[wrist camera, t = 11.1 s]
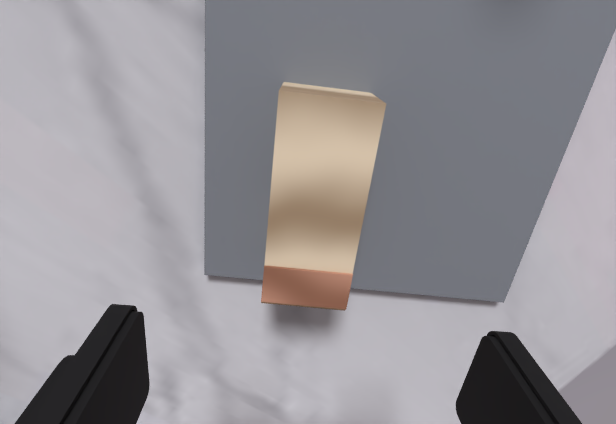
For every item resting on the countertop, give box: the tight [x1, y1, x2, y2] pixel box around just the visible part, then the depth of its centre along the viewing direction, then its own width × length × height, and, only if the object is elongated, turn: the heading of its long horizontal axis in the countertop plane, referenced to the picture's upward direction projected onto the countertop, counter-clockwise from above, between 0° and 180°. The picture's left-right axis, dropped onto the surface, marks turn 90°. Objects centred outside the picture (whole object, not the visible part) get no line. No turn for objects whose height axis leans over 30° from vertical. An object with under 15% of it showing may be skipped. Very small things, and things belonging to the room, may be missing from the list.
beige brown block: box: [261, 82, 386, 310], centre depth 21 cm, size 12×5×5 cm, turn 173°
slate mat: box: [204, 0, 616, 302], centre depth 23 cm, size 22×20×1 cm
